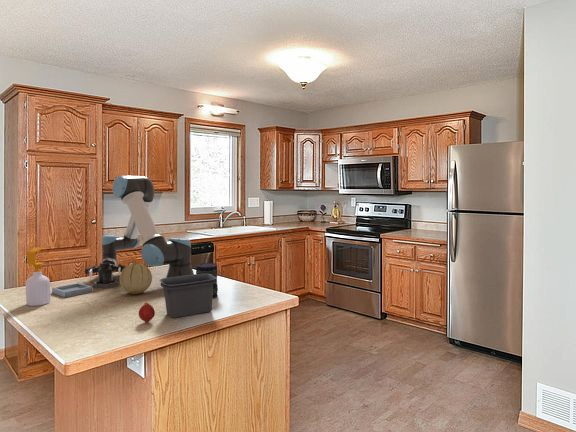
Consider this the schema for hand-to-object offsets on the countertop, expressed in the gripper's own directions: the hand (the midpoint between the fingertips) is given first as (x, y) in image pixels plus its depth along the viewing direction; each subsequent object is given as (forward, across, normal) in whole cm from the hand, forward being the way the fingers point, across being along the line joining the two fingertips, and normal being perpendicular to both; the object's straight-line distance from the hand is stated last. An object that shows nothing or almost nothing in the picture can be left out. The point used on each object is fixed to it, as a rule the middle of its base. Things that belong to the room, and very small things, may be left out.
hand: (104, 273), depth 214 cm
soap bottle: (+22, +25, -7) cm, 34 cm away
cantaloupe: (+18, -15, -7) cm, 25 cm away
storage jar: (+34, -47, -7) cm, 58 cm away
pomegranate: (+64, -20, -7) cm, 67 cm away
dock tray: (+6, +14, -7) cm, 17 cm away
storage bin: (+56, -36, -8) cm, 67 cm away
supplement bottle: (-3, 0, -7) cm, 8 cm away
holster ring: (-3, 0, -7) cm, 8 cm away
